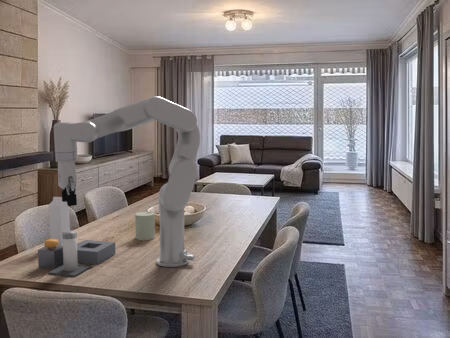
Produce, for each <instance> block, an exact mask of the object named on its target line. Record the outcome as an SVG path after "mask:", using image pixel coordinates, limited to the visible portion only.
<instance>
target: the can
mask: <svg viewBox="0 0 450 338" xmlns="http://www.w3.org/2000/svg"><path fill="white" fill-rule="evenodd" d="M134 215H135V217H134V219H135V220H134V221H135V236H134V237H135V239H136V240H139V241H150V240H153V239H156V234H155V233H156V229H155V228H156V227H155V226H156V225H155V222H156V220H155V212H153V211H140V212H139V211H138V212H136V213H135V214H134Z"/></svg>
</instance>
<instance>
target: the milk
mask: <svg viewBox="0 0 450 338" xmlns="http://www.w3.org/2000/svg"><path fill="white" fill-rule="evenodd" d="M48 215H49V216H48V217H49V219H48V220H49V237H50V238H49V239H58V246H63V238H62V232H64V231H71V225H70V206H68V205H67V201H66V202H63V201H62V196H53V197H52V201H51V202H50V203H49V205H48Z"/></svg>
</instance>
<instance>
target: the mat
mask: <svg viewBox="0 0 450 338" xmlns="http://www.w3.org/2000/svg"><path fill="white" fill-rule="evenodd" d="M92 267H93V266H92V265H91V264H88V265H87V264H80V263H78V269H77V270H74V271H64V265H62V266H60V267H58V268H56V269H52V270H51V271H49V272H48V275H53V276H61V277H62V276H64V277H71V278H72V277H73V278H76V277H78V276H79V275H81V274H83V273H84V272H87V271H88V270H89V269H91V268H92Z"/></svg>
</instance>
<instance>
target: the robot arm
mask: <svg viewBox="0 0 450 338" xmlns="http://www.w3.org/2000/svg"><path fill="white" fill-rule="evenodd" d="M153 121H157V122H159V123H161V124H164V125H165V126H168V127H169V128H170V127H171V128H172V129H174V130H175V131H176V132H177V142H176V146H175V149H174V152H173V155H172V158H171V160H170V163H169V165H168V173H169V178H168V181H167V182H166V183H164V184H163V185H162V186H161V187H160V189H159V192H158V207H159V208H158V209H159V255H160V256H159V257H158V258H157V259H156V261H155V263H156V264H157V265H158V266H160V267H164V268H178V267H183V266H185V265H188V263H189V261H192V262H193V261H195V256H194V254H193V253H188V250H187V249H185V208H186V206H187V205H188V203H189V200H190V197H191V195H192V193H193V188H194V186H195V183H196V179H197V174H198V169H197V168H198V167H197V165H196V164H195V161H196V159H197V155H198V151H199V149H200V145H201V144H200V143H201V134H200V129H199V126H198V119H197V116H196V113H195V112H193V111H192V110H190V109H188V108H187V107H184V106H182V105H180V104H178V103H176V102H175V103H174V102H173V101H170V100H168V99H166V98H164V97H161V96H159V95H158V96H157V95H156V96H151V97H149V98H148V97H147V98H146V99H142V100H140V101H137V102H134V103H130V104H127V105H125V106H122V107H119V108H117V109H115V110H113V111H110V112H109V113H106V114H103V115H100V116H97V117H95V118H92V119H88V120H85V121H81V122H56V123H54V125H53V137H54V138H53V139H54V152H55V153H54V154H55V162H57V185H58V187H59V188H60V189H61V197H62V201H63V202H67V205H68V206H69V207H72V206H74V207H75V206H77V205H78V202H77V201H78V200H77V191H76V188H77V187H78V185H77V170H76V169H77V168H76V161H78V159H79V158H78V144H77V143H92V142H94V141H95V140H96V139H99V138H103V137H106V136H107V135H108V136H109V135H111V134H114V133H118V132H125V131H129V130H132V129H134V128H137V127H140V126H143V125H145V124H148V123H151V122H153Z"/></svg>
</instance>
